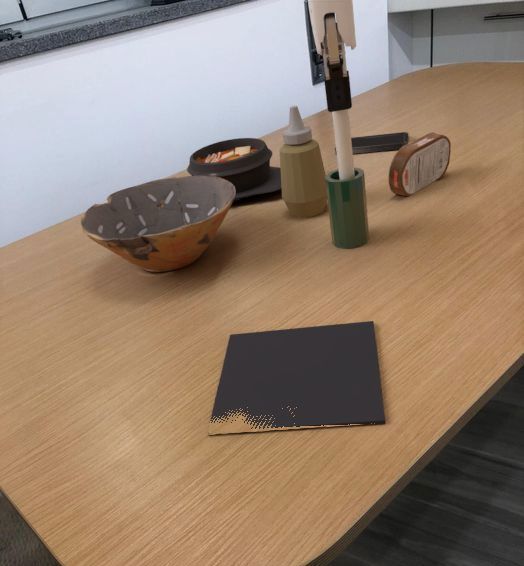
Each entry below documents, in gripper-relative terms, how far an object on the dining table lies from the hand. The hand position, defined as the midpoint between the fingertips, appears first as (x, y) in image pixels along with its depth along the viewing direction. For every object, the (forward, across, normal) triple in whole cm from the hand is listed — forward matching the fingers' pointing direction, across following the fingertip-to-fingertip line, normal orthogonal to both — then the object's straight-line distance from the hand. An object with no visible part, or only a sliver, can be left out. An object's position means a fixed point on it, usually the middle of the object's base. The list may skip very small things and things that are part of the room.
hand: (339, 105), depth 81 cm
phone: (+20, +46, -6) cm, 51 cm away
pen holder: (+20, 0, 0) cm, 20 cm away
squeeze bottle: (+21, +14, +8) cm, 26 cm away
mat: (+21, -32, +8) cm, 39 cm away
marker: (+11, 0, 0) cm, 11 cm away
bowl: (+20, +2, +30) cm, 36 cm away
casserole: (+20, +30, +22) cm, 43 cm away
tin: (+21, +19, -12) cm, 31 cm away
